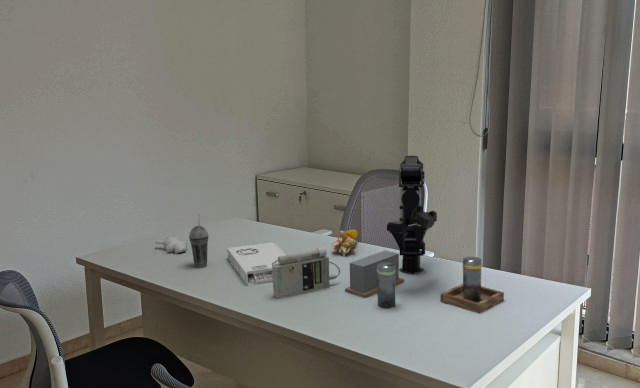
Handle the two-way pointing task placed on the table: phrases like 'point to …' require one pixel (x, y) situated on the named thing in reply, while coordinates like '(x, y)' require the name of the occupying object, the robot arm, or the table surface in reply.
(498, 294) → the tray
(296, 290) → the geiger counter
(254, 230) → the table surface
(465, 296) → the cylinder
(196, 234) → the beverage cup
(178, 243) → the bunny figurine
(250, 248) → the power supply unit
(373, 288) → the block
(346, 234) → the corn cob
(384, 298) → the cylinder
